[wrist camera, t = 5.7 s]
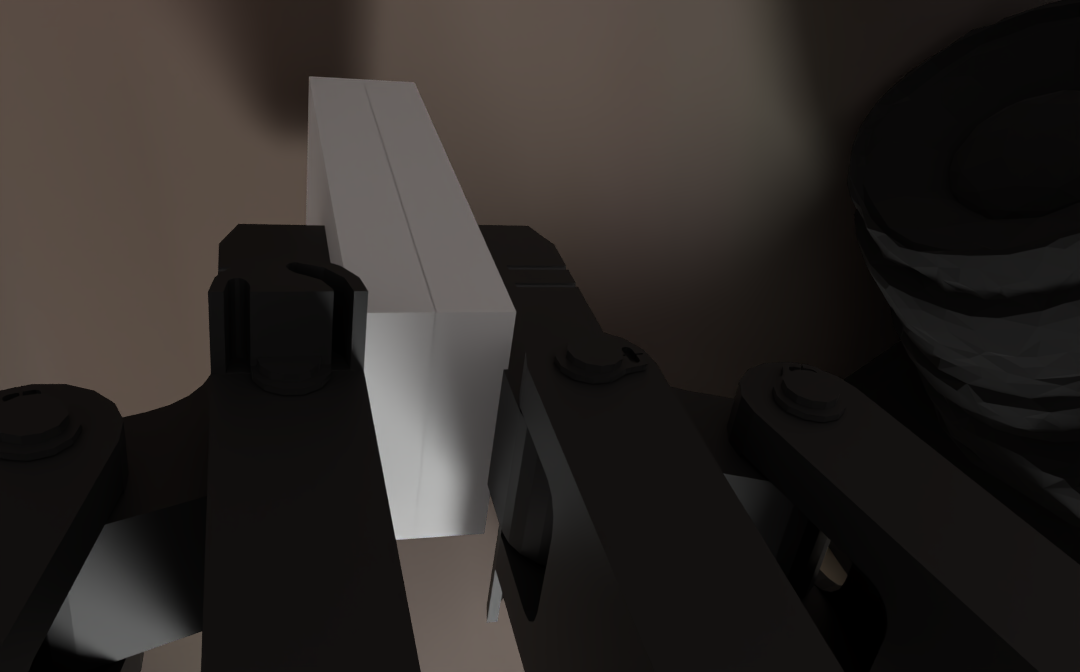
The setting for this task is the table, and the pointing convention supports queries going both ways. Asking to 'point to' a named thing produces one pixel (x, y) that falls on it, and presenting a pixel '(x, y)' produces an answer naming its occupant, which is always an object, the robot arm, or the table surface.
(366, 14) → the table surface
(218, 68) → the table surface
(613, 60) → the table surface
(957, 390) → the film camera
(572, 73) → the table surface
